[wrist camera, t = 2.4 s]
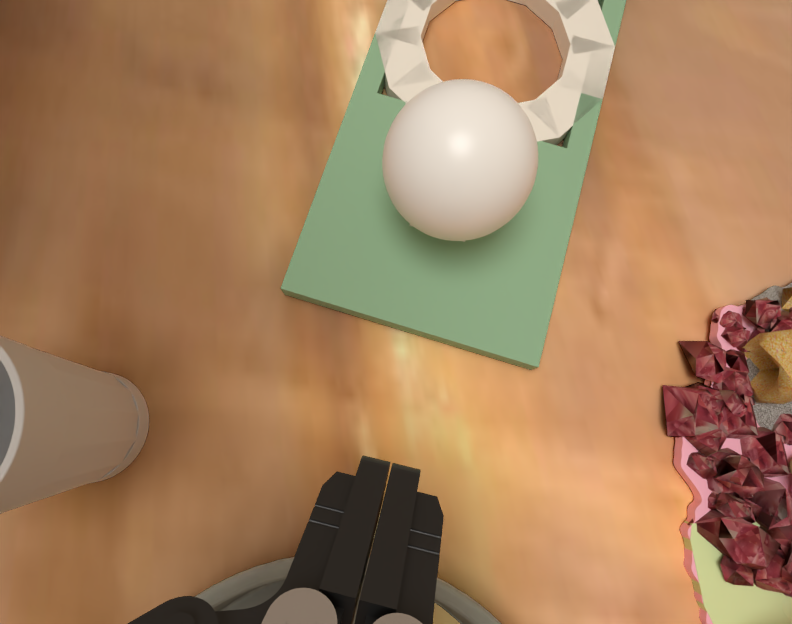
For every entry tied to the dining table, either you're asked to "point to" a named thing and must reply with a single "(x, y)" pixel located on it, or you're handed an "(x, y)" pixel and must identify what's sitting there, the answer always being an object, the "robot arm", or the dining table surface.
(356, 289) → the mini golf board
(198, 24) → the dining table surface
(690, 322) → the dining table surface
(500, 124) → the ball
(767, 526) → the coral reef model
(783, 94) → the dining table surface
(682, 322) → the dining table surface
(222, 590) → the round baking tin
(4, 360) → the cup
